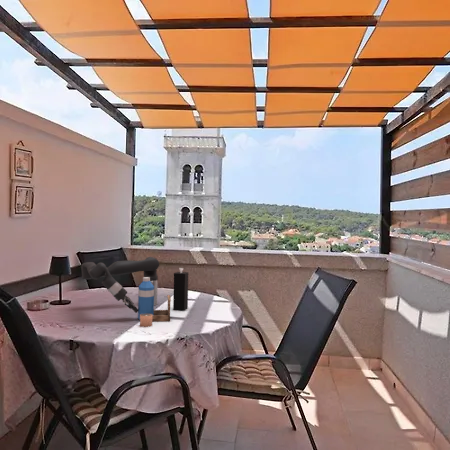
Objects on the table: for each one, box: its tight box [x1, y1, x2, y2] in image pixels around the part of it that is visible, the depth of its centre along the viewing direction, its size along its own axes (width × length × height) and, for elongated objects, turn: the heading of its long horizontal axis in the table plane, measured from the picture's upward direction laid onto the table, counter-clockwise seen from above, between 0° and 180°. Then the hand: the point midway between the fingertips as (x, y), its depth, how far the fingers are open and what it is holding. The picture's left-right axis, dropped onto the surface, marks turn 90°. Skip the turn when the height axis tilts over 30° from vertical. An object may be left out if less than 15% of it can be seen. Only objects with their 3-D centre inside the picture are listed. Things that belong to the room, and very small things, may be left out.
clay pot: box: [139, 313, 153, 328], centre depth 244 cm, size 7×7×6 cm
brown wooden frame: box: [152, 294, 172, 323], centre depth 260 cm, size 15×15×13 cm
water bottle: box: [137, 276, 155, 321], centre depth 259 cm, size 9×9×25 cm
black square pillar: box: [172, 267, 189, 312], centre depth 286 cm, size 8×8×28 cm
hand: (137, 311), depth 257 cm, fingers closed
